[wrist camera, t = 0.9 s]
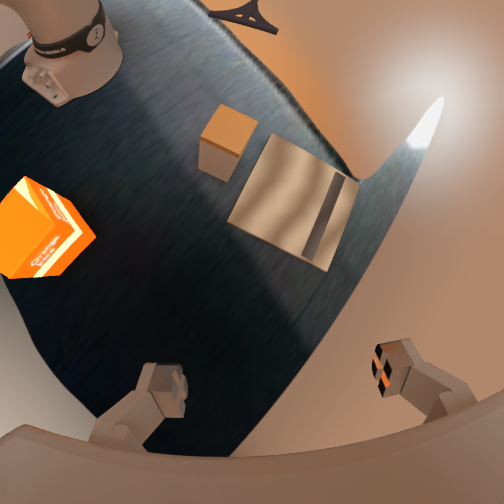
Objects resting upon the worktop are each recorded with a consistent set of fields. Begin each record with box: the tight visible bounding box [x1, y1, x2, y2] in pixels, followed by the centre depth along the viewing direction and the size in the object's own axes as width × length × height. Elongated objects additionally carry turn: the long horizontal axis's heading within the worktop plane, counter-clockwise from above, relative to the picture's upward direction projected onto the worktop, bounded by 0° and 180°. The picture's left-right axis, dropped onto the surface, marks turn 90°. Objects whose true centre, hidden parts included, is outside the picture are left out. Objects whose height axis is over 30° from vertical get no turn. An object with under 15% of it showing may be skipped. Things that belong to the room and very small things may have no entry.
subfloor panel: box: [226, 133, 360, 272], centre depth 45 cm, size 17×16×1 cm
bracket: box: [208, 0, 279, 35], centre depth 46 cm, size 14×15×3 cm
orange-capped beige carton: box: [198, 104, 258, 183], centre depth 38 cm, size 5×5×12 cm
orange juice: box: [0, 176, 96, 279], centre depth 29 cm, size 8×9×20 cm
